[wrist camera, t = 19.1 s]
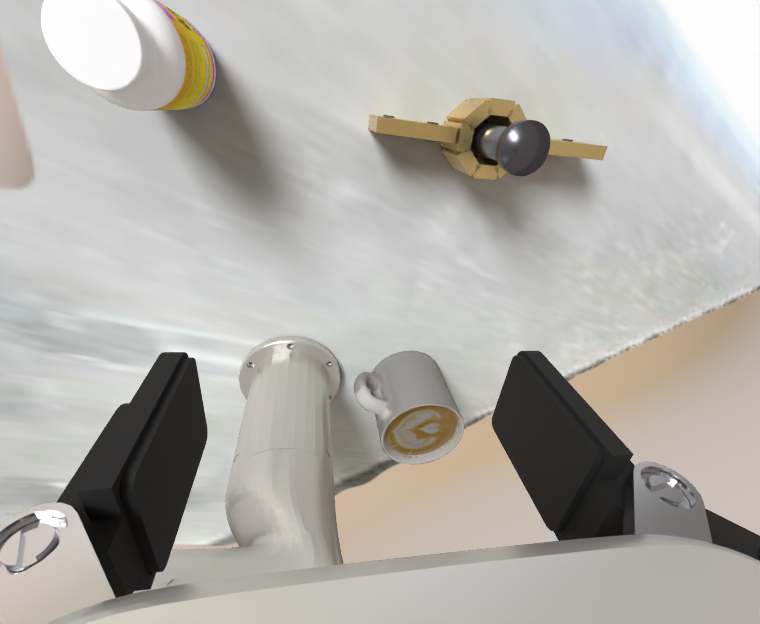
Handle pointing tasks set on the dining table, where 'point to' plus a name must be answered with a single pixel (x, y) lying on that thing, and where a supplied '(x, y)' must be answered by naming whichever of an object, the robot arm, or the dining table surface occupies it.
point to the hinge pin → (513, 145)
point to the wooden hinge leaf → (412, 129)
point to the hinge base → (500, 115)
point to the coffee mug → (411, 407)
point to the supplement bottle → (131, 52)
